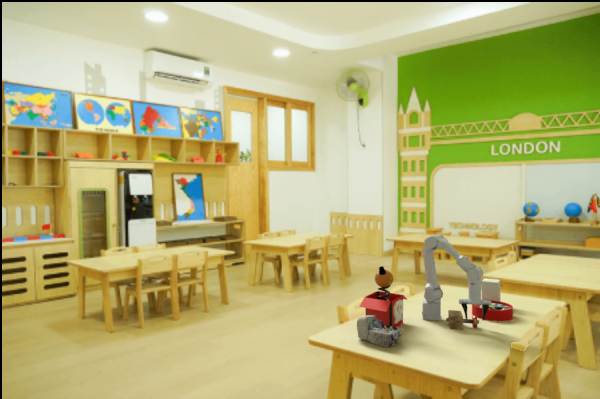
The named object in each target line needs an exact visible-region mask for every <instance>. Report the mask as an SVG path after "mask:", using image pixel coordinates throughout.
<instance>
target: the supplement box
mask: <svg viewBox="0 0 600 399" xmlns="http://www.w3.org/2000/svg"><path fill="white" fill-rule="evenodd" d="M481 300H493V301H500V302H501V279H496V278H485V277H484V278H483V279H481Z"/></svg>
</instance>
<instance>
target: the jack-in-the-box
mask: <svg viewBox="0 0 600 399" xmlns="http://www.w3.org/2000/svg"><path fill="white" fill-rule="evenodd" d="M384 267H385V266H379V267H378V271H377V272H376V274H375V276H374V281H375V283H376V285H377V286H379V287H377V291H374V292H372V293H370V294H368V295H366V296H364V297H363V299H362V301H361V303H360V304H359V306H358V307H359V308H364V309H365V316H367V315H375V316H376V318H377V320H381V321H382V322H383V324H384V325H385V326H386V325H387V324H389V326H392V325H393V324H395V325H396V327H398V326H399V327H401V326H402V325H403V324H404V300H405V301H406V300H408V298H407V297H406V296H405V295H404V294H400V293H393V292H390V291H389V290H387V289H389V288H391V286H392V284H393V283H394V275H393V273H392V272H391V271H389V270H388V269H385V268H384ZM401 324H402V325H401Z"/></svg>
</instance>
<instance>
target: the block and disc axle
mask: <svg viewBox="0 0 600 399" xmlns="http://www.w3.org/2000/svg"><path fill="white" fill-rule="evenodd" d="M471 315H472V314H471ZM445 321H446V322H449V318H448V317H447V318H445ZM463 324H471V325H472V328H474V329H477V328H478V324H480V320H479V319H478V318H477V316H474V315H472V316H471V319H470V318H467V319H466V318H463Z"/></svg>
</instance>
